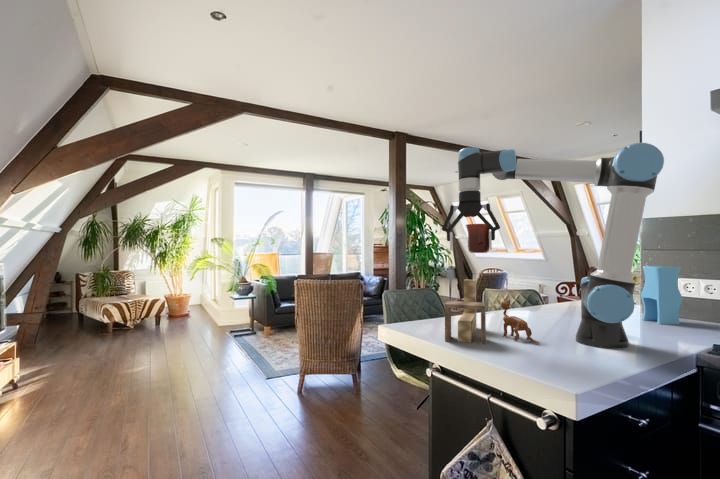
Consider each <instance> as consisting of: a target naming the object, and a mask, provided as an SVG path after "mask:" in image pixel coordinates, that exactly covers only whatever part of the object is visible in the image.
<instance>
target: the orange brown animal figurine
mask: <svg viewBox="0 0 720 479" xmlns="http://www.w3.org/2000/svg"><path fill="white" fill-rule="evenodd" d="M500 303H501V306H500V307H501V309H503V313H502V314H503V318H502V320H503V321H504V323H503V335H502V337H504V336H505V337H507V335H508V327H510V331H511V333H510V334H509V337H512V336H514V334H515V336H514V338H513V340H514V341H515V342H516V341H518V340H519V338H520V333H519V332H523V331H525V334H526V337H525V339H526V340H529V341H530V342H532V343H535V344H540V342H539V341H538V340H535V339H534V338H532V337H531V336H532V335H533V334H532V333H533V332H532V330H531V328H530V327H529V326H528V322H527V321H525V320H524V319H522V318H519V317H517V316H509V315H507V311H508V310H510V305H511V304H510V303H511V300H510V299H509V300H508V301H506V299H505V298H503V301H501V302H500Z"/></svg>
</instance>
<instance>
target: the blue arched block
mask: <svg viewBox="0 0 720 479" xmlns="http://www.w3.org/2000/svg"><path fill="white" fill-rule="evenodd" d="M642 269H643V273H644V280H645V281H644V285H643V288H642V291H641V293H640V298H641V302H642V306H643V315H642V318H641V321H646V322H648V321H651V322H652V321H657V322H656V325H681V323H680V316H679V314H680V308H681V305H682V302H683V296H682V294H681V292H680V289H679V286H678V279H679V275H680V272H681V271H682V267H680V266H664V265H643V266H642Z"/></svg>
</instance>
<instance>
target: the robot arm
mask: <svg viewBox="0 0 720 479" xmlns="http://www.w3.org/2000/svg"><path fill="white" fill-rule="evenodd" d="M663 154H664V153H662V151H661V149H659V148H658V147H657V146H655V145H653V144H652V143H648V142H636V143H631V144H629V145H626V146H625V147H622V148H621V149H619V151H618V152H617V153H616V154H615V155H614V156H613V157H599V158H597V159H596V160H588V159H587V160H586V159H584V160H583V159H538V158H537V159H536V158H535V159H533V158H517V155H516V150H515V149H513V148H512V149H500V150H494V151H486V152H485V151H484V152H480V149H479V148H478V147H473V146H471V147H468V146H467V147H463V148H462V149H460V150H459V151H458V159H457V160H458V161H457V166H458V167H457V168H458V191H459V192H458V205H453V204H451V205H450V206H449V212H448V214H447V217H446V219H445V220H444V222H443V225H442V226H441V231H443V232H446V240H447V242H449V251H453V250H454V243H453V242H454V238H453V237H454V236H453V233H454V232H452V230H453V229H454V228H455V227H456V225H457V224H458V223H459V222H460V221H461V219H462V218H463V217H465V218H470V217H471V218H475V217H478V218H479V219H480V220H481V221H482V222H483V224H488V225H487V226H488V227H489V228H490V231H489V250H492V249H493V248H492V247H493V246H492V241H495V240H496V231H498V230H500V229H501V226H500V223H499V222H498V220H497V219H496V217H495V215H494V214H493V211H492V210H491V205H490V203H489V202H488V203H486V204H485V203H484V204H482V202H481V200H482V199H481V198H482V197H481V196H482V194H481V175H487V174H491V175H492V176H493V177H494V178H495V179H497V180H499V181H506V180H529V181H530V180H531V181H532V180H533V181H549V182H550V181H551V182H570V183H587V184H589V183H591V184H593V185H594V186H595V187H605V188H607V191H609V193H610V194H611V196H610V203H609V207H608V212H607V217H606V222H605V228H604V231H603V238H602V243H601V249H600V253H599V258H598V263H597V267H596V270H595V271H593V272H591V273H589V276H585V277H582V278H581V280H580V286H579V287H580V299H581V300H580V302H581V303H580V305H581V306H580V308H581V310H580V311H581V312H580V313H581V314H580V315H581V316H580V317H581V320H580V323H579V325H578V328H577V331H576V334H575V341H576V343H578V344H581V345H583V346H588V347H593V348H599V349H608V350H609V349H610V350H616V349H617V350H619V349H627V348H630V341H629V339H628V338H629V337H628V336H627V334H626V331H625V329H624V326H623V322H624V321H626V320H628V319H629V318H630V317H631V316H632V314H633V313H634V309H635V301H634V296H633V295H634V292H635V286H636V281H635V280H634V278H633V277H632V275H631V274H632V270H633V264H634V260H635V255H636V249H637V245H638V239H639V234H640V230H641V225H642V221H643V214H644V211H645V210H644V209H645V206H646V202H647V198H648V196H650V195H651V194H653V193H654V192H655V189H656V185H657V178H658V175H659V174H660V173H661V171H662V169H663V168H664V164H665V158H664V155H663ZM482 209H484V211H486V212H487V214H488V215H489V217H490V219H491V221H492V222H493V225H494V226H493V225H492V224H491V223H490V222H489V221H488V219H487V218H485V216H484V215H482V213H480V212H481V210H482ZM457 210H458V211H459V212H460V213H459V214H458V215H457V217H456V218H455V219H454V221H453V222H452V223H451V224H450V225H449V223H450V222H451V219H452V218H453V215H454V212H456V211H457ZM448 225H449V226H448ZM447 227H448V228H447Z"/></svg>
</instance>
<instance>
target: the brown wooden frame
mask: <svg viewBox="0 0 720 479" xmlns="http://www.w3.org/2000/svg"><path fill="white" fill-rule="evenodd" d="M452 309H463V310H464V309H476V310H480V344H481V346H482V345H483V346H485V345H486V341H487V336H486V334H487V333H486V331H487V330H486V329H487V328H486V327H487V326H486V302H479V301H478V302H477V301H476V302H464V301H458V300H457V301H455V300H447V301H446V302H445V303H444V341H445V342H450V340H451V338H452Z"/></svg>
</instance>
